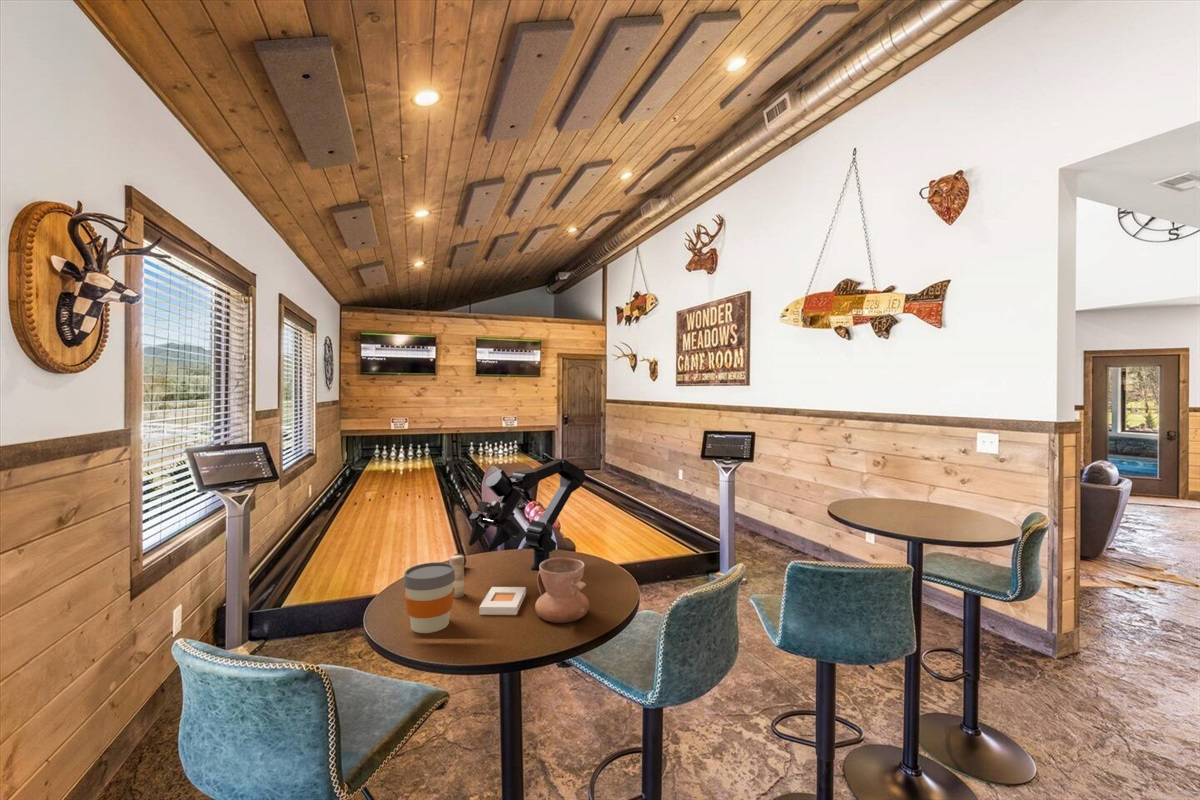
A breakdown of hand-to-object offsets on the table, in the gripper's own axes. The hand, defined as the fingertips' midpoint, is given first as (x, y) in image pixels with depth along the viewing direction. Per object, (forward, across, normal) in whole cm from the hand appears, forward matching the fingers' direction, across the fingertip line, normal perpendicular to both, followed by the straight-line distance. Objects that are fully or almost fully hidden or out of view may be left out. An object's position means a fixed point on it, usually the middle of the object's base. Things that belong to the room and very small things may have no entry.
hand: (479, 548), depth 156 cm
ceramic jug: (+8, +32, +11) cm, 35 cm away
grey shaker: (+8, -17, +11) cm, 22 cm away
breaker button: (+11, +16, +6) cm, 20 cm away
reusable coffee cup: (+26, +11, -8) cm, 29 cm away
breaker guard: (+12, +16, +6) cm, 20 cm away
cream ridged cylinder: (+15, 0, +3) cm, 15 cm away
